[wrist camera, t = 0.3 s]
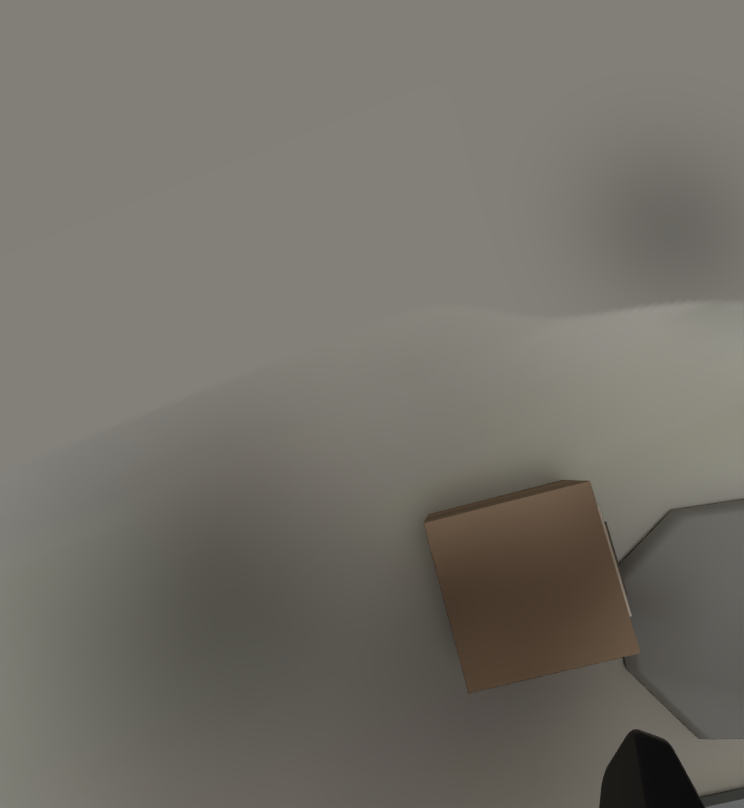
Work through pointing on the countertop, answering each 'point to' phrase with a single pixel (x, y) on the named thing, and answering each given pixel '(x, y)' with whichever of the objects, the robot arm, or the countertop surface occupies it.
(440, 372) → the countertop surface
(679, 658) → the flask
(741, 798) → the grey coaster
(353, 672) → the countertop surface
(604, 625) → the letter cube
